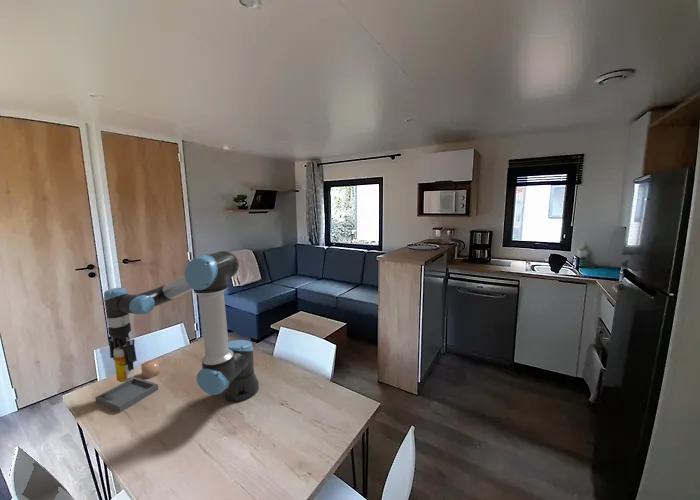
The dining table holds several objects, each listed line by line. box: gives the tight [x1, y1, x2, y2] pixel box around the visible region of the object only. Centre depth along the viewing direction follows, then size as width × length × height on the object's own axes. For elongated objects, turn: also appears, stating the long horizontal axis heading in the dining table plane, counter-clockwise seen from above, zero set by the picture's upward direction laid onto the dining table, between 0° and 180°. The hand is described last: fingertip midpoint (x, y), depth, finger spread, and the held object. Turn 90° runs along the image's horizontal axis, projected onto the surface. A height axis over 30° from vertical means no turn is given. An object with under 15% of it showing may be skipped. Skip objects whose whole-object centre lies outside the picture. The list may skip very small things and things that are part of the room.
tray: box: [95, 376, 160, 413], centre depth 129 cm, size 16×16×3 cm
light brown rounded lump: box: [140, 359, 160, 380], centre depth 145 cm, size 7×7×6 cm
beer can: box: [113, 345, 135, 383], centre depth 127 cm, size 6×6×15 cm
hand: (125, 374), depth 127 cm, fingers closed on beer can, 6 cm apart
